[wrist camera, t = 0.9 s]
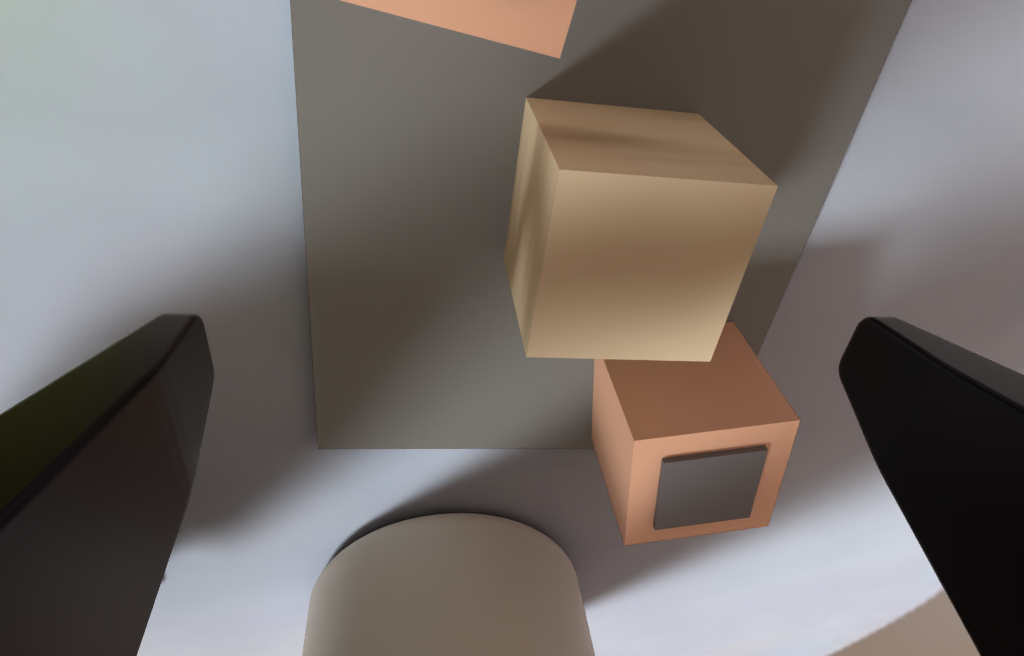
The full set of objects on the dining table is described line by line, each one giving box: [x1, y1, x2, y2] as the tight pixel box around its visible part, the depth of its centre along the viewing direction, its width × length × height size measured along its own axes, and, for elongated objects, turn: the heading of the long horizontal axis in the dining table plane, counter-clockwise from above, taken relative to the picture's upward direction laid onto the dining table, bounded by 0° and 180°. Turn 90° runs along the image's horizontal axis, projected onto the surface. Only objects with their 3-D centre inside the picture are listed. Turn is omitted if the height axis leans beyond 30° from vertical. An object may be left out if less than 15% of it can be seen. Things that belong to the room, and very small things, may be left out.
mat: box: [290, 0, 912, 449], centre depth 20 cm, size 22×16×1 cm
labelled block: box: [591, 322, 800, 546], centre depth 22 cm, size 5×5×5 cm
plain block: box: [504, 97, 778, 362], centre depth 17 cm, size 5×5×5 cm
